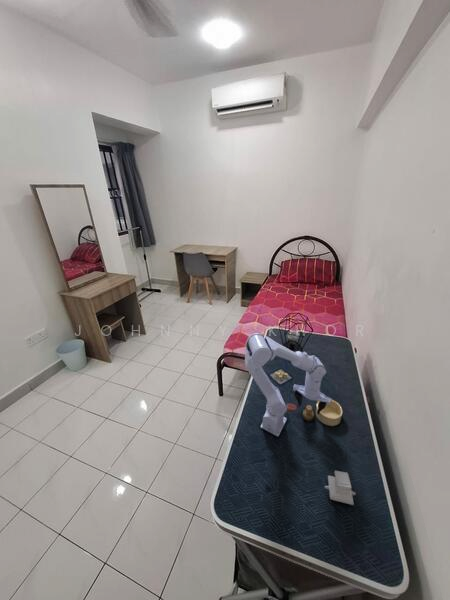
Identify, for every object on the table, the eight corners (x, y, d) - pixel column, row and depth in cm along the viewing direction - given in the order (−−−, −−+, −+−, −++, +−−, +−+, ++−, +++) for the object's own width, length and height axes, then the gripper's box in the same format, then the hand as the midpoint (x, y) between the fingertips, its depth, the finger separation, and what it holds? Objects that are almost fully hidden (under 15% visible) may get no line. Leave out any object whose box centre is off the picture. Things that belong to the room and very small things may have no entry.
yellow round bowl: (337, 430, 96) (339, 422, 94) (312, 418, 101) (313, 411, 99) (342, 412, 103) (344, 404, 101) (319, 402, 109) (320, 394, 107)
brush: (311, 422, 100) (313, 413, 97) (301, 417, 102) (302, 408, 100) (314, 414, 103) (316, 406, 101) (304, 410, 105) (305, 401, 103)
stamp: (325, 502, 75) (328, 488, 71) (322, 479, 81) (326, 464, 77) (356, 510, 73) (362, 495, 69) (351, 486, 79) (356, 471, 75)
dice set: (288, 377, 123) (288, 374, 123) (280, 381, 121) (280, 378, 120) (281, 371, 127) (281, 368, 126) (274, 375, 125) (274, 372, 124)
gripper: (334, 385, 93) (329, 409, 99) (297, 371, 101) (295, 394, 107) (329, 397, 88) (325, 422, 94) (291, 382, 96) (289, 406, 102)
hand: (309, 408), depth 100 cm, fingers open, 7 cm apart
